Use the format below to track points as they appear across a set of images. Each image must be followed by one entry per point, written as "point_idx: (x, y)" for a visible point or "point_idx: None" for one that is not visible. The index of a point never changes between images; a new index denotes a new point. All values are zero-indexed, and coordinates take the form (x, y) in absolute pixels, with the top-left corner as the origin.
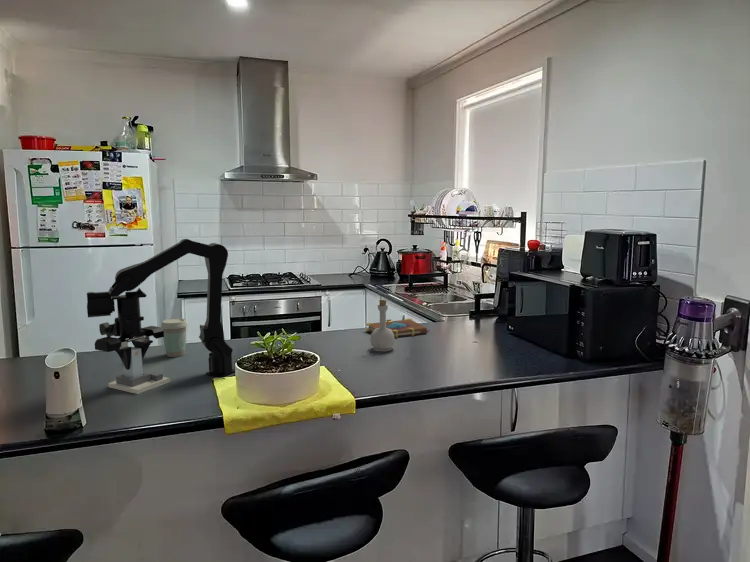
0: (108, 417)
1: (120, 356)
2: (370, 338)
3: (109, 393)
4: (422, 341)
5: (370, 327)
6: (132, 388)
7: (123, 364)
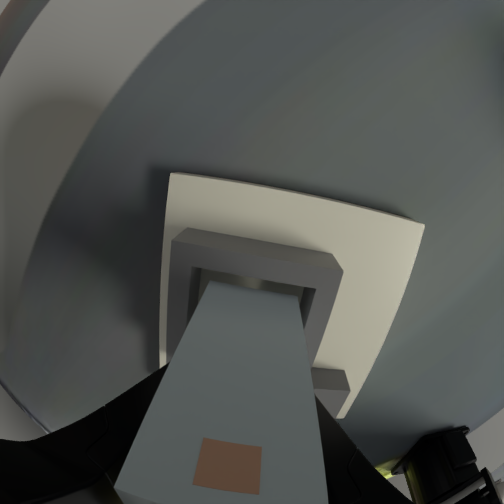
0: (31, 380)
1: (85, 430)
2: (500, 491)
3: (114, 255)
4: None
5: None
6: (162, 365)
7: (181, 344)
